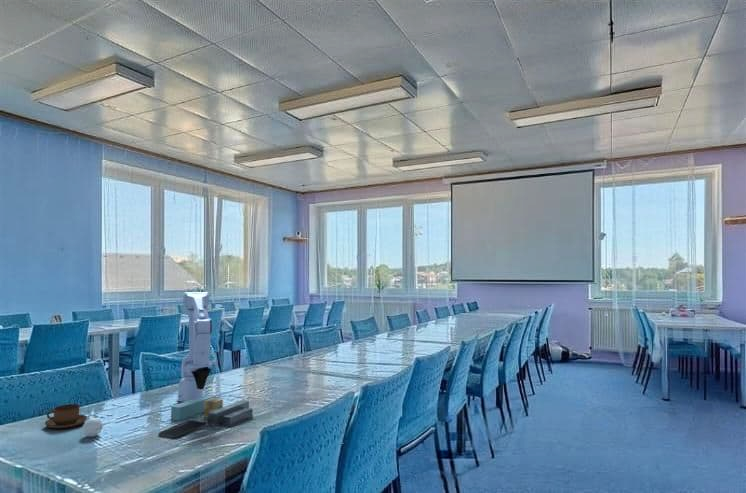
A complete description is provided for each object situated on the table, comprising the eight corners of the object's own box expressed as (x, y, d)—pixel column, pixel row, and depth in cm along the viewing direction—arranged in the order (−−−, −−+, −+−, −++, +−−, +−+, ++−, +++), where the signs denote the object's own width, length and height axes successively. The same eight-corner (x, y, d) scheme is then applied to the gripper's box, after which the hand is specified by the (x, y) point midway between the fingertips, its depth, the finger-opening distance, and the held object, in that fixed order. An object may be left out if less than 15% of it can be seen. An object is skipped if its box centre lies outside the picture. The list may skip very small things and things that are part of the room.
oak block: (203, 417, 174) (204, 400, 174) (212, 414, 178) (212, 397, 178) (213, 419, 172) (214, 402, 172) (222, 415, 176) (222, 399, 176)
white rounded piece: (87, 440, 149) (88, 422, 149) (78, 437, 152) (79, 419, 152) (112, 433, 155) (113, 416, 155) (102, 430, 158) (103, 413, 158)
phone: (156, 433, 154) (189, 420, 168) (156, 437, 154) (189, 423, 168) (176, 436, 151) (208, 422, 165) (176, 440, 151) (208, 426, 165)
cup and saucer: (42, 433, 155) (43, 414, 155) (47, 422, 165) (48, 404, 166) (85, 428, 160) (86, 409, 161) (87, 418, 171) (88, 400, 171)
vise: (207, 425, 164) (208, 412, 164) (242, 412, 181) (242, 400, 181) (224, 428, 161) (224, 415, 162) (257, 414, 178) (257, 402, 178)
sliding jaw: (170, 419, 171) (171, 406, 171) (207, 406, 188) (207, 394, 188) (179, 420, 169) (179, 407, 170) (215, 407, 186) (215, 395, 186)
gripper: (195, 355, 170) (194, 394, 170) (223, 349, 184) (222, 385, 183) (180, 354, 173) (179, 392, 173) (209, 348, 187) (208, 383, 186)
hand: (200, 388), depth 178 cm, fingers closed
